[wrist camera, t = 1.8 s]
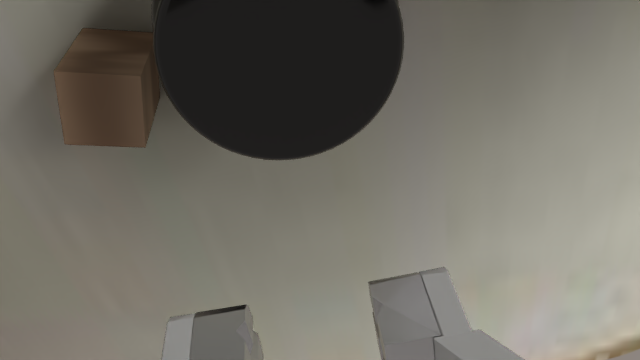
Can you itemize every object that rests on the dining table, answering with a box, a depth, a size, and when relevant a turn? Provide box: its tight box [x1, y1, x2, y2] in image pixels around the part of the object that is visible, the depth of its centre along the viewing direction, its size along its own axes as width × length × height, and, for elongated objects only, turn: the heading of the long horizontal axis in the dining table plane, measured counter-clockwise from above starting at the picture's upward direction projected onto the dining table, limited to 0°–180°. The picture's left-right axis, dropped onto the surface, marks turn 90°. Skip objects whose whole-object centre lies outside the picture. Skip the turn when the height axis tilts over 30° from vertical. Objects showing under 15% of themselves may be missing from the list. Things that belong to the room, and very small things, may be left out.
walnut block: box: [54, 28, 160, 148], centre depth 32 cm, size 4×4×6 cm
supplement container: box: [151, 0, 404, 160], centre depth 27 cm, size 10×10×12 cm
